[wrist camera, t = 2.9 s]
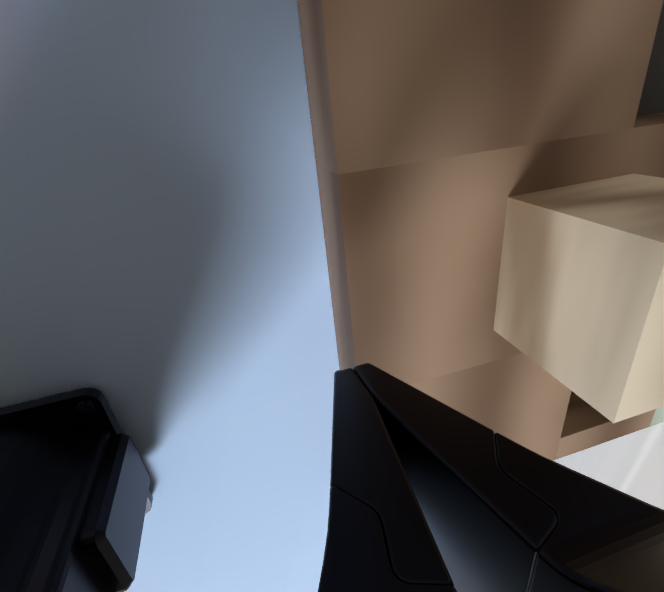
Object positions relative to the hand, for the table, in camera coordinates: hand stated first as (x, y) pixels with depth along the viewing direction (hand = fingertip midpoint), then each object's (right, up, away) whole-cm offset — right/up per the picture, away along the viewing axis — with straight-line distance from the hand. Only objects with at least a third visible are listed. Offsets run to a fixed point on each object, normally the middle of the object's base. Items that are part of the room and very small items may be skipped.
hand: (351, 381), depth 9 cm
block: (+8, +3, +5) cm, 10 cm away
